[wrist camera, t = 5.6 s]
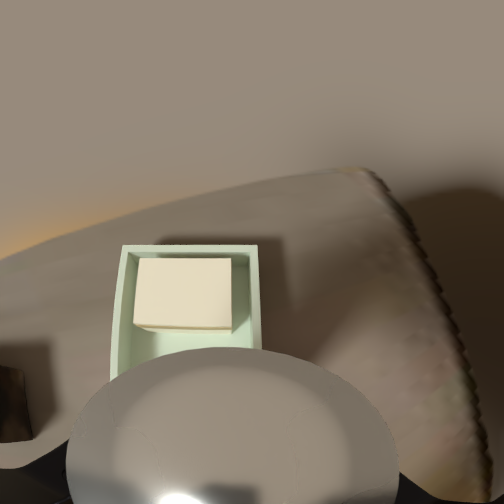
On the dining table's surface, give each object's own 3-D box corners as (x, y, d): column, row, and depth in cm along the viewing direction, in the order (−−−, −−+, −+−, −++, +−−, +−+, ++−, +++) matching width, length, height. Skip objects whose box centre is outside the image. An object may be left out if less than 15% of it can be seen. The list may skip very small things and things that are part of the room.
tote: (261, 454, 18) (266, 466, 15) (129, 446, 17) (113, 455, 14) (253, 262, 25) (257, 245, 22) (134, 261, 25) (122, 245, 21)
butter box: (232, 334, 22) (232, 326, 18) (147, 332, 21) (132, 323, 18) (231, 276, 24) (231, 257, 21) (152, 275, 24) (139, 257, 20)
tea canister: (298, 404, 15) (451, 444, 3) (238, 471, 13) (258, 623, 1) (224, 347, 16) (206, 264, 4) (163, 414, 14) (19, 474, 2)
